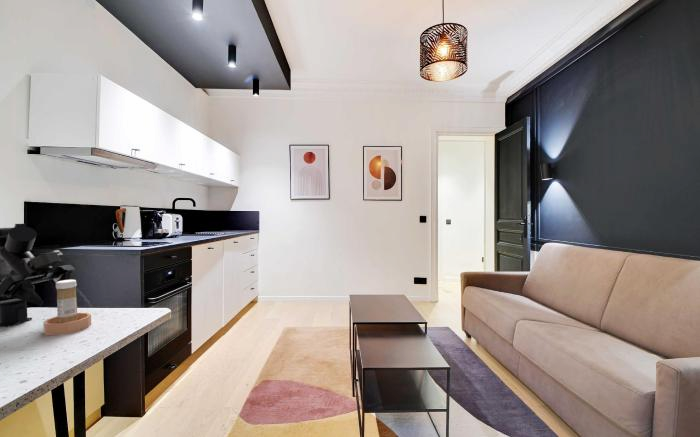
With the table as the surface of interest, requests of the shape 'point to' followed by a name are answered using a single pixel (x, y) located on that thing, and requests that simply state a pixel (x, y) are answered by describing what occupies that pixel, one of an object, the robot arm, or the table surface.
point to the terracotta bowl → (66, 325)
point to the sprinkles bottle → (66, 301)
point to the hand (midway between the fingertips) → (58, 299)
